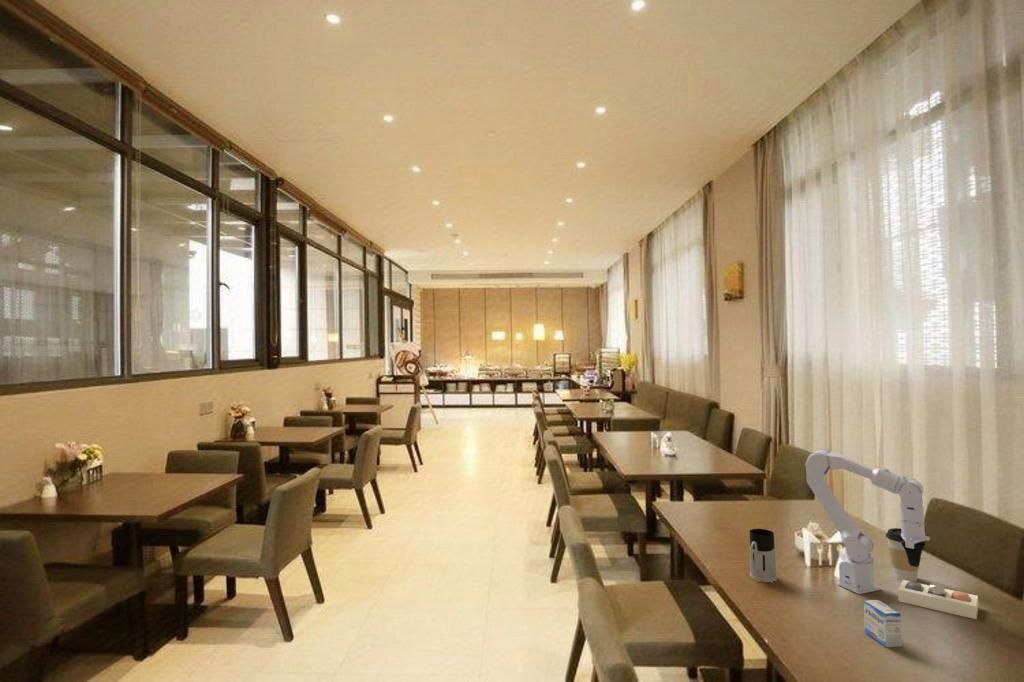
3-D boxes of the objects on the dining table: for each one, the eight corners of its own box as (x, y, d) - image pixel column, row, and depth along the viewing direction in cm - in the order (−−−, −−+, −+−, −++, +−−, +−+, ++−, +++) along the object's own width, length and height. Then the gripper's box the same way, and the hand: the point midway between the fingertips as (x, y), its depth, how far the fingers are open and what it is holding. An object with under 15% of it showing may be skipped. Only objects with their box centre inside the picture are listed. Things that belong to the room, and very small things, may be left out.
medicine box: (864, 632, 150) (863, 600, 150) (879, 631, 151) (878, 599, 151) (886, 648, 142) (885, 613, 142) (902, 647, 143) (901, 612, 143)
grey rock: (929, 596, 165) (928, 586, 165) (930, 592, 168) (930, 582, 168) (944, 599, 163) (944, 589, 163) (945, 595, 165) (945, 585, 165)
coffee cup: (930, 585, 178) (928, 537, 178) (895, 583, 180) (893, 536, 180) (914, 573, 188) (912, 528, 188) (881, 571, 190) (880, 527, 190)
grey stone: (906, 594, 169) (906, 584, 169) (908, 590, 171) (907, 580, 171) (921, 597, 166) (920, 587, 166) (922, 593, 169) (922, 583, 169)
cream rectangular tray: (898, 601, 168) (898, 589, 168) (903, 591, 174) (902, 579, 174) (976, 619, 156) (975, 606, 156) (978, 607, 162) (977, 595, 162)
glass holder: (781, 576, 188) (779, 531, 188) (766, 590, 178) (764, 542, 178) (754, 570, 194) (753, 526, 194) (738, 583, 184) (737, 537, 184)
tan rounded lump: (952, 604, 161) (952, 594, 161) (954, 600, 164) (953, 590, 164) (968, 608, 159) (968, 597, 159) (969, 603, 161) (969, 593, 162)
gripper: (925, 529, 161) (927, 576, 161) (932, 517, 172) (934, 561, 172) (896, 524, 166) (898, 570, 166) (904, 513, 177) (906, 556, 176)
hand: (914, 565), depth 169 cm, fingers closed
